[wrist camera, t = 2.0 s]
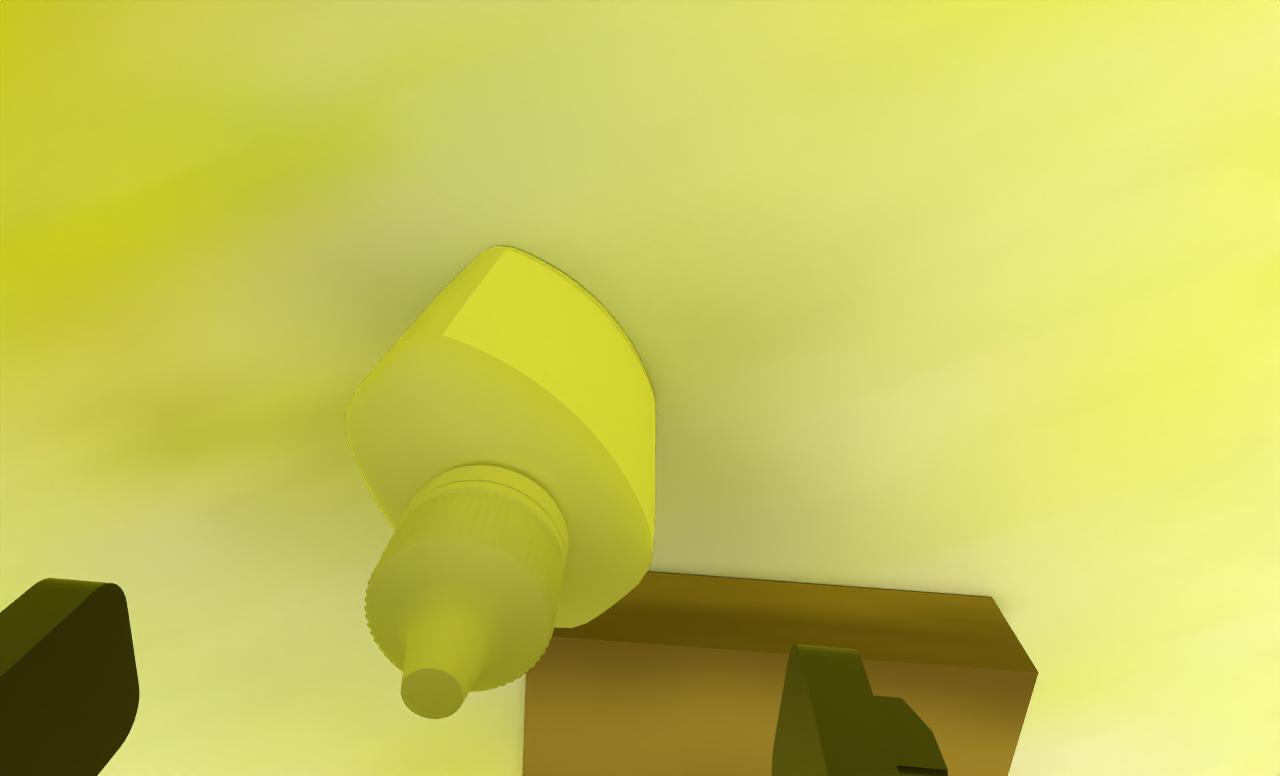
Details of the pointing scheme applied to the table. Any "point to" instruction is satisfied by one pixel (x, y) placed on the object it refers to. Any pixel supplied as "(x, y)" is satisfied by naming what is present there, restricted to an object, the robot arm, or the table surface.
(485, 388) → the squeeze bottle
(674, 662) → the walnut plinth
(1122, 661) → the table surface
